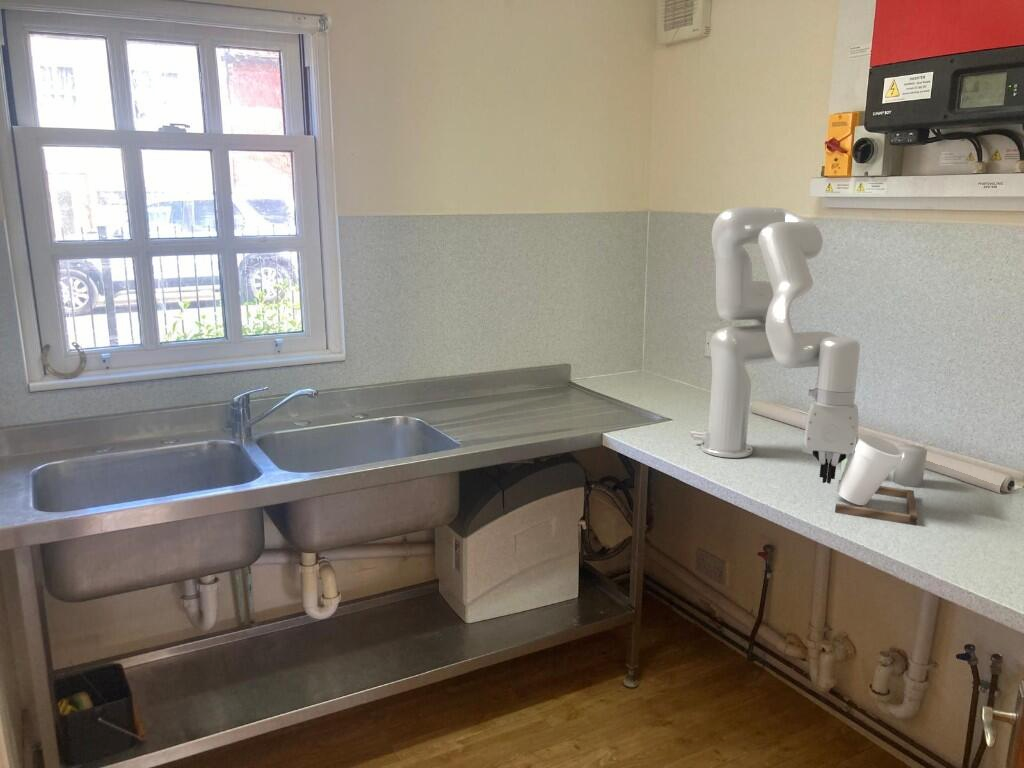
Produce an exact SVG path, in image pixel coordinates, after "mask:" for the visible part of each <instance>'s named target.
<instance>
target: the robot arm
mask: <svg viewBox="0 0 1024 768" xmlns="http://www.w3.org/2000/svg"><path fill="white" fill-rule="evenodd" d="M822 235H823V234H822V232H821V230H820V229H819V227H818V226H817V225H816V224H814V223H813V222H812V221H810V220H808V219H807V218H805V217H802V216H800V215H798V214H796V213H794V212H792V211H791V210H788V209H785V208H782V207H768V206H767V207H765V206H764V207H761V206H760V207H759V206H758V207H757V206H739V207H737V206H736V207H733V208H728V209H726V210H723V212H721V213H719V215H718V216H717V217H716V219H715V220H714V222H713V225H712V230H711V245H712V250H713V256H714V259H715V261H714V262H715V305H716V312H717V315H718V316H719V317H720V318H721V319H723V320H726V321H751V325H733V326H725V327H722V328H719V329H718V330H717V331H715V332H714V333H713V334H712V336H711V338H710V341H709V353H710V361H711V386H710V400H709V401H710V403H709V412H708V413H709V415H708V416H709V417H708V429H707V430H703V431H699V430H695V429H692V430H691V431H690V438H693V439H692V440H696V441H701V443H700V449H701V451H703V452H704V453H706V454H709V455H711V456H714V457H720V458H727V459H728V458H729V459H730V458H731V459H739V458H745V457H749V456H751V455H752V454H753V447H752V446H751V445H750V444H748V443H747V440H748V429H749V428H748V427H749V416H750V404H751V394H752V381H751V377H750V375H749V373H748V371H747V369H746V365H754V364H757V365H758V364H767V363H770V362H772V361H774V360H775V361H776V363H777V364H779V365H780V366H782V367H783V368H786V369H803V368H817V367H818V368H817V375H816V376H817V377H816V378H817V379H816V387H815V388H813V389H808V393H807V395H808V396H809V397H813V399H814V400H812V401H811V402H810V405H809V409H808V412H807V417H806V423H805V429H804V430H805V432H804V441H803V443H804V445H802V446H803V447H802V452H804V453H806V454H809V455H813V456H814V457H815V459H816V460H817V461H818V462H819V465H820V468H819V478H821V479H822V483H823V484H825V483H827V484H830V485H831V482H832V480H835V479H836V478H835V477H836V472H837V471H836V469H837V465H839V464H840V463H842V461H843V460H844V459H848V457H849V455H850V454H852V453H854V452H855V447H856V444H857V437H858V433H859V417H860V416H859V408H858V405H857V404H855V401H856V400H855V398H856V389H857V380H858V370H859V361H860V360H859V359H860V347H861V346H860V345H861V344H860V343H859V341H858V340H857V339H854V338H850V337H843V336H839V335H836V334H834V333H832V332H828V331H823V330H821V331H820V330H819V331H818V330H817V331H803V332H801V331H800V332H795V331H794V329H793V326H792V322H791V318H790V309H791V305H792V303H793V301H795V300H796V299H798V298H799V297H801V296H804V295H805V294H806V293H808V292H809V291H810V290H811V289H812V288H813V286H814V281H813V277H812V274H811V270H810V268H809V265H808V261H807V260H811V259H814V258H816V257H817V256H819V254H820V253H821V251H822V248H823V243H824V242H823V241H824V240H823V236H822ZM749 244H752V245H756V244H758V246H759V251H760V254H761V258H762V260H763V263H764V266H765V270H766V273H767V276H768V280H769V281H766V280H753V262H752V259H751V257H750V255H749V253H748V250H746V248H745V247H744V246H743V245H749ZM827 453H832V454H833V455H832V458H831V459H830V460H828V458H827Z"/></svg>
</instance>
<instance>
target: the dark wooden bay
mask: <svg viewBox="0 0 1024 768" xmlns="http://www.w3.org/2000/svg"><path fill="white" fill-rule="evenodd" d="M840 480H841V479H839V480H838V484H839V483H840ZM874 495H882V496H891V497H896V498H904V499H906V503H907V504H906V505H907V512H908V514H907V513H901V512H893V511H889V510H888V511H887V510H883V509H881V510H880V509H875V508H868V507H863V506H858V505H856V506H855V505H851V504H850V505H849V504H844V503H843V504H842V503H837V502H836V503H835V508H834V512H835V513H837V514H845V515H850V516H857V517H862V518H869V519H876V520H881V521H888V522H895V523H900V524H905V525H906V524H907V525H912V526H917V522H918V513H917V507H916V499H915V491H914V490H911V489H904V488H899V487H898V488H897V487H891V486H883V485H881V486H880V487H879V488H878V490H877V491H876V492H875V493H874Z"/></svg>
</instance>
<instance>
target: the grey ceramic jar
mask: <svg viewBox="0 0 1024 768" xmlns="http://www.w3.org/2000/svg"><path fill="white" fill-rule="evenodd" d="M896 446H897V447H898V448H899V449H900V450H901V451H902V452H903V456H902V458H901V460H900V461H899V463H898V465H897V466H895V467H894V469H893V475H892V481H893V482H894V483H895V484H897V485H899V486H903V487H908V488H921V487H922V486H923V482H924V475H925V469H926V468H925V467H926V461H927V455H928V453H927V452H928V450H927V448H924V447H922V446H919V445H916V444H915V445H914V444H898V445H896Z"/></svg>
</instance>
